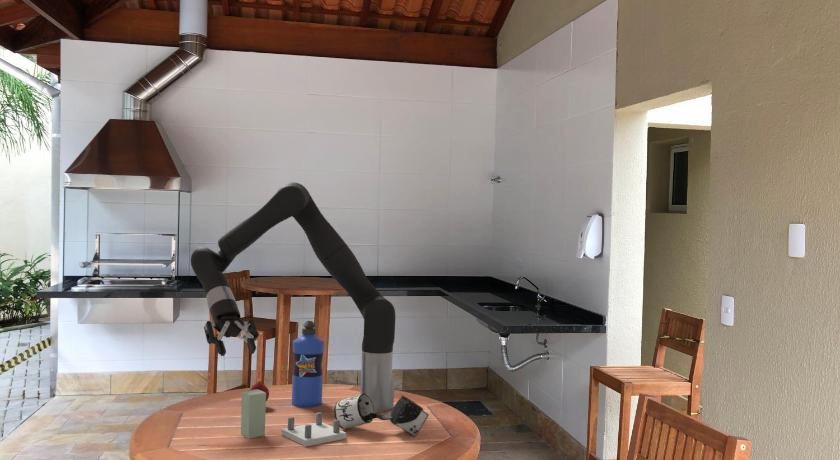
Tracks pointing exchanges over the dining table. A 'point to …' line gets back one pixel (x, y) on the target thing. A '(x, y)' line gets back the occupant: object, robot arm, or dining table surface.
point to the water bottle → (307, 368)
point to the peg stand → (313, 432)
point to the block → (253, 413)
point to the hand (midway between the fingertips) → (238, 353)
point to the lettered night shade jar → (362, 412)
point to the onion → (261, 388)
